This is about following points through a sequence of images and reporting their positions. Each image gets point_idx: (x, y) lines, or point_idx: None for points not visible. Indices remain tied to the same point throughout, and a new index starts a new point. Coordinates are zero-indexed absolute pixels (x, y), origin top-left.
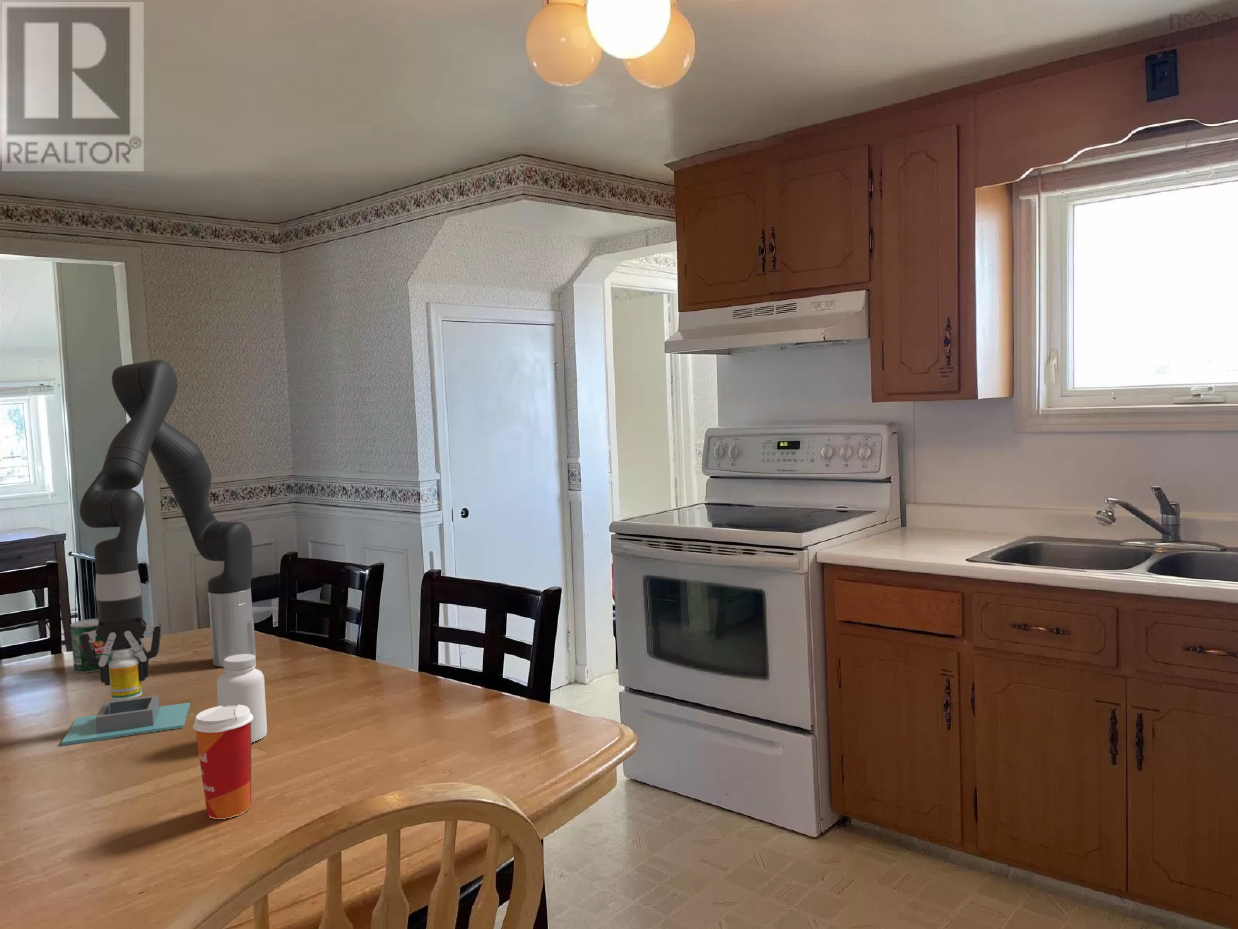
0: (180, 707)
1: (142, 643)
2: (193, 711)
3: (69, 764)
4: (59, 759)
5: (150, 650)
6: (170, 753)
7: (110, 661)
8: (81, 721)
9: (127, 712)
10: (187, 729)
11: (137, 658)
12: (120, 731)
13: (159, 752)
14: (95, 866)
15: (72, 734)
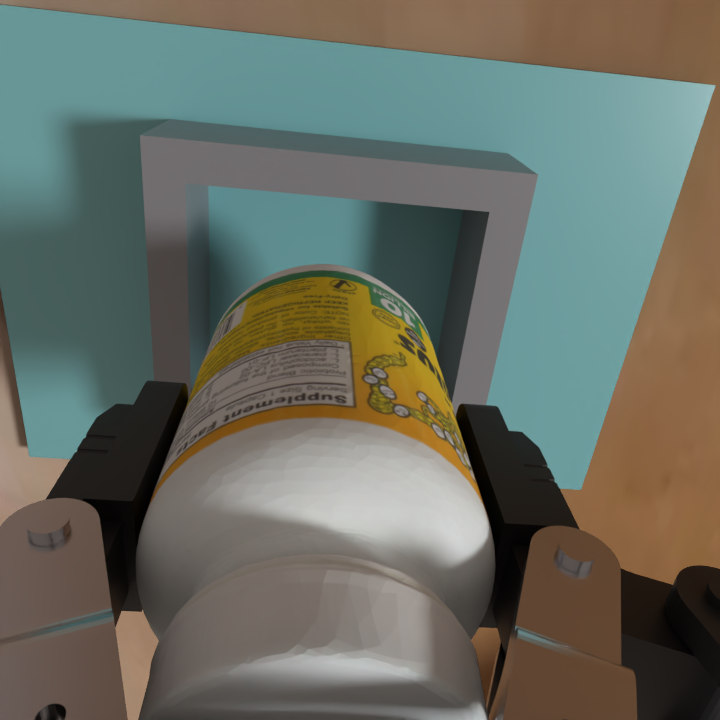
0: (633, 178)
1: (628, 715)
2: (684, 232)
3: (146, 646)
4: None
5: (670, 657)
6: (487, 690)
7: (157, 633)
8: (18, 127)
9: None
10: (588, 498)
11: (473, 635)
12: None
13: None
14: None
15: (47, 364)
